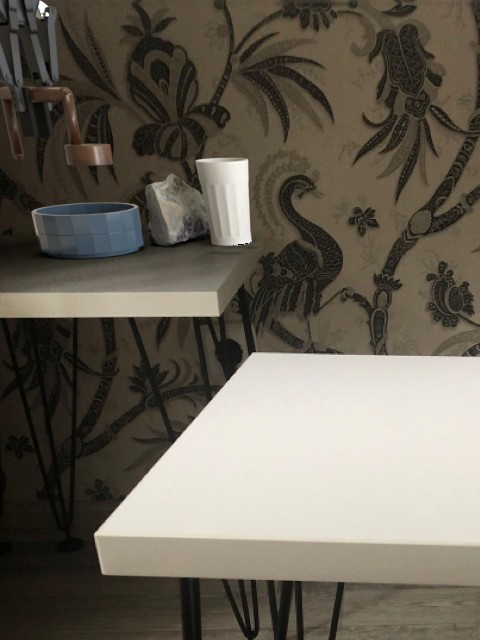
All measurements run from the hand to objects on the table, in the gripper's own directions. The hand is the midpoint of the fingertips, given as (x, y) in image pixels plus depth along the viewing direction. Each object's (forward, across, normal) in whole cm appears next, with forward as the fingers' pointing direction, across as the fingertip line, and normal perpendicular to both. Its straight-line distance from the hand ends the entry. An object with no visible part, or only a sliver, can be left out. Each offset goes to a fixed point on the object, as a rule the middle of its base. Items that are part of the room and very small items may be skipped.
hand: (38, 135), depth 139 cm
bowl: (+16, -1, -10) cm, 18 cm away
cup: (+16, +15, -23) cm, 32 cm away
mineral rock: (+16, +13, -15) cm, 25 cm away
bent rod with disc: (+3, 0, -4) cm, 5 cm away
